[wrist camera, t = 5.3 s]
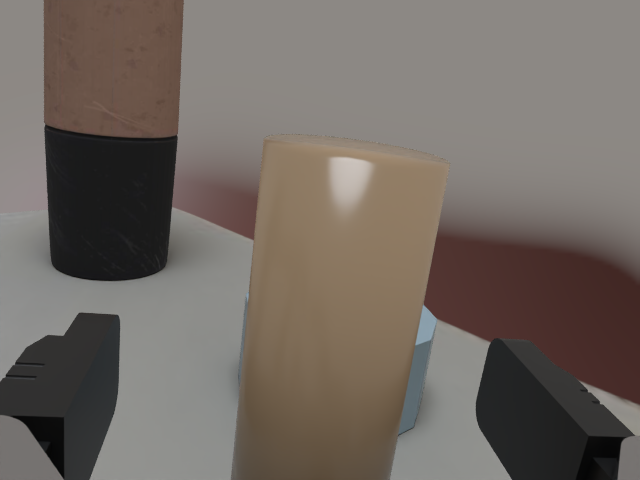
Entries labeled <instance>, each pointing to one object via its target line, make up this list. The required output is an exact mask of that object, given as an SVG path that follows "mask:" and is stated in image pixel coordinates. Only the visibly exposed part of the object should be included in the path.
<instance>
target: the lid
mask: <svg viewBox="0 0 640 480" xmlns="http://www.w3.org/2000/svg"><path fill="white" fill-rule="evenodd" d="M449 166H450V163H449V162H448V161H447V160H445V159H443V158H440V157H438V156H435V155H432V154H428V153H425V152H421V151H417V150H413V149H408V148H404V147H399V146H393V145H388V144H382V143H376V142H369V141H363V140H356V139H348V138H339V137H329V136H317V135H300V134H281V135H271V136H267V137H265V138H264V142H263V152H262V162H261V173H260V183H259V194H258V204H257V215H256V225H255V235H254V245H253V256H252V266H251V276H250V287H249V297H248V307H247V318H246V328H245V338H244V349H243V359H242V370H241V380H240V390H239V401H238V411H237V421H236V432H235V442H234V452H233V463H232V473H231V480H390V475H391V470H392V465H393V460H394V454H395V449H396V444H397V439H398V433H399V428H400V423H401V418H402V412H403V407H404V402H405V397H406V392H407V386H408V381H409V376H410V371H411V365H412V360H413V355H414V350H415V344H416V339H417V334H418V329H419V324H420V318H421V313H422V308H423V303H424V297H425V292H426V287H427V282H428V276H429V270H430V265H431V261H432V256H433V250H434V245H435V239H436V235H437V229H438V224H439V219H440V214H441V208H442V203H443V198H444V193H445V187H446V182H447V177H448V172H449Z"/></svg>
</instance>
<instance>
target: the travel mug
mask: <svg viewBox="0 0 640 480" xmlns="http://www.w3.org/2000/svg"><path fill="white" fill-rule="evenodd" d="M183 2H184V0H44V123H45V149H46V171H47V193H48V214H49V235H50V251H51V260H52V264H53V266H54V267H55V268H56V269H58V270H59V271H61V272H63V273H66V274H68V275H72V276H76V277H80V278H86V279H95V280H125V279H133V278H139V277H144V276H147V275H151V274H153V273H156V272H158V271H160V270H161V269H162V268H163V267H164V266H165V264H166V262H167V255H168V245H169V234H170V222H171V210H172V198H173V186H174V175H175V163H176V151H177V134H178V121H179V120H178V119H179V96H180V74H181V73H180V72H181V48H182V27H183V4H184V3H183Z"/></svg>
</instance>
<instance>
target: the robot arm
mask: <svg viewBox="0 0 640 480" xmlns="http://www.w3.org/2000/svg"><path fill="white" fill-rule="evenodd" d="M119 346H120V319H119V316H118V315H111V314H95V313H79V314H78V315H77V316H76V318H75V320H74V321H73V323H72V324H71V326H70V327H69V329H68V330H67V332H66V333H65V335H64V336H55V335H47V336H45V337H44V338H42V339H40V340H39V341H37V342H35V343H33V344H32V345H30V346H28V347H27V348H26V349H25V350H24V352H23V353H22V354H21V356H20V357H19V358H18V359H17V361H16V362H15V365H13V366H12V367H11V369H10V370H9V371H8V373H7V374H6V377H5V378H3V379H2V380H1V382H0V480H89V479H90V476H91V474H92V471H93V468H94V466H95V463H96V460H97V458H98V455H99V452H100V450H101V447H102V444H103V442H104V439H105V436H106V434H107V431H108V428H109V426H110V423H111V420H112V418H113V415H114V411H115V407H116V401H117V395H118V383H119ZM476 417H477V422H478V425H479V428H480V429H481V431H482V433H483V434H484V436H485V437H486V439H487V441H488V442H489V444H490V445H491V447H492V449H493V450H494V452H495V453H496V455H497V456H498V458H499V460H500V461H501V463H502V464H503V466H504V467H505V469H506V471H507V472H508V474H509V475H510V477H511V479H512V480H640V436H635V435H634V434H633V433H632V432H631V431H630V430H629V429H628V428H627V427H626V426H625V425H624V424H623V423H622V422H621V421H619V420H618V419H617V418H616V417H615V416H614V415H613V414H612V413H611V412H610V411H609V410H608V409H607V408H606V407H605V406H604V405H603V404H600V401H599V400H598V399H597V398H596V397H595V396H594V395H593V394H592V393H588V390H587V389H586V388H585V387H584V386H583V385H582V384H581V383H580V382H579V381H578V380H577V379H576V378H575V377H574V376H573V375H571V374H569V373H568V372H566V371H564V370H563V369H561V368H559V367H558V366H556V365H554V364H553V363H552V362H551V361H550V360H549V359H548V358H547V357H546V356H545V355H544V354H543V353H542V352H541V351H540V350H539V349H538V348H537V347H536V346H535V345H534V344H533V343H532V342H531V341H529V340H515V339H500V338H496V339H494V340H493V341H492V342H491V344H490V346H489V348H488V352H487V357H486V361H485V365H484V370H483V374H482V378H481V382H480V387H479V391H478V395H477V400H476Z"/></svg>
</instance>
